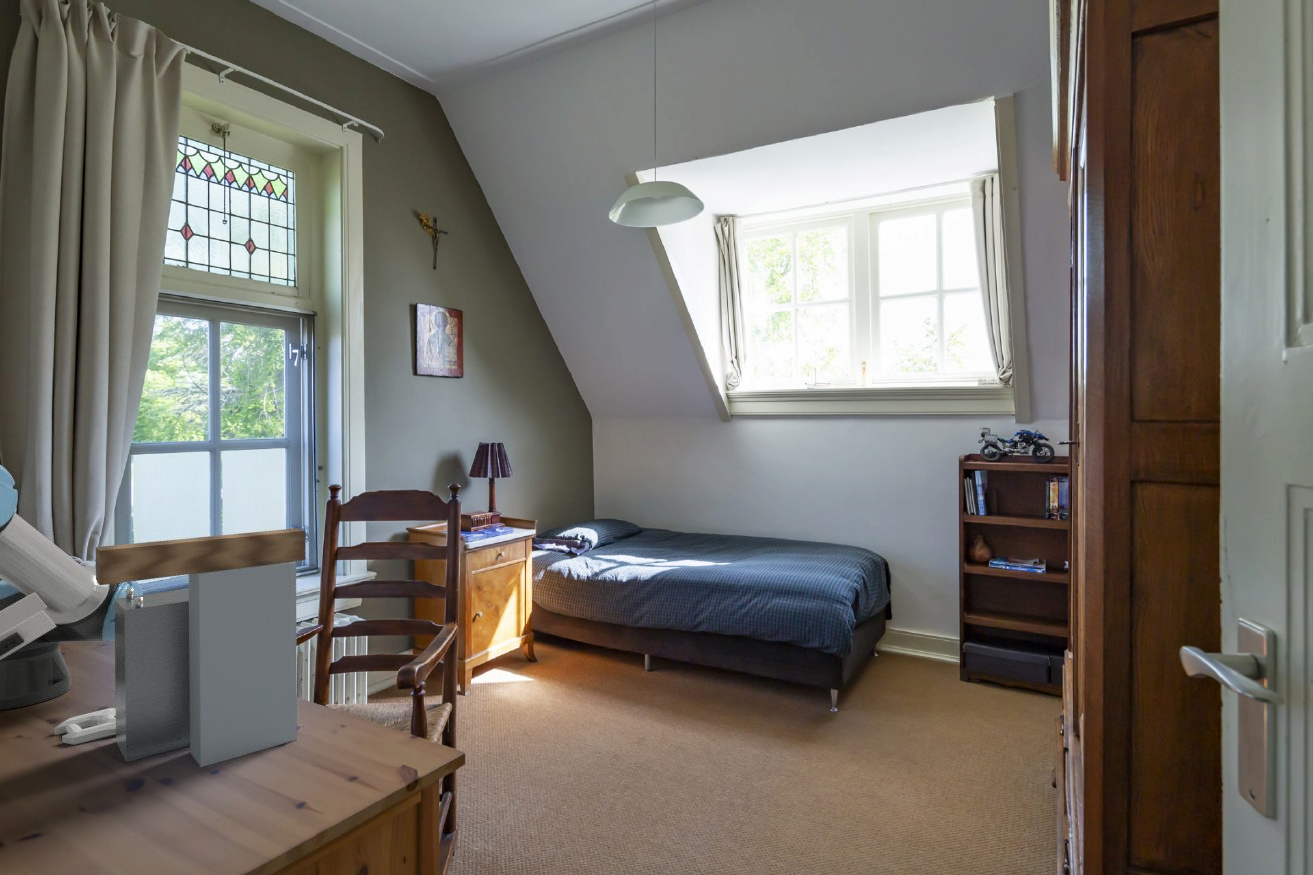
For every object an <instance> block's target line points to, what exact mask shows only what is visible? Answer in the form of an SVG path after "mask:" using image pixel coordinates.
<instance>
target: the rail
mask: <svg viewBox="0 0 1313 875" xmlns="http://www.w3.org/2000/svg"><path fill="white" fill-rule="evenodd" d="M305 560H306V530H305V529H300V528H298V527H297V528H285V529H274V530H263V531H253V532H252V531H251V532H242V533H233V534H221V535H211V536H201V537H189V538H178V539H177V538H176V539H168V540H156V541H148V542H136V543H126V544H116V545H114V544H113V545H105V546H104V545H103V546H95V567H96V582H97V583H98V584H99V585H107V584H115V583H123V582H131V581H136V582H138V581H147V580H153V579H162V578H170V577H180V576H186V575H189V574H195V573H203V572H212V571H220V570H228V569H236V568H244V567H252V566H260V565H268V564H276V563H284V562H292V561H293V562H299V561H305Z"/></svg>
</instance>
